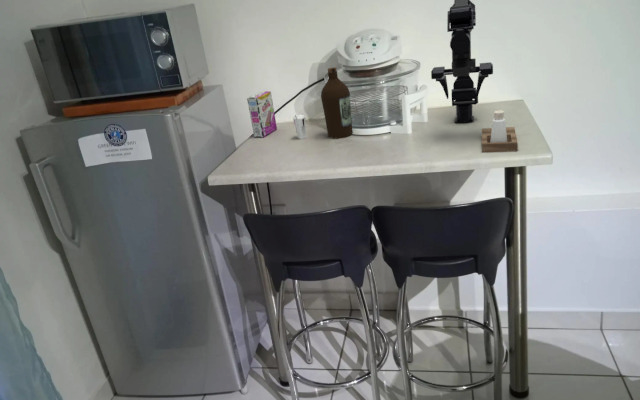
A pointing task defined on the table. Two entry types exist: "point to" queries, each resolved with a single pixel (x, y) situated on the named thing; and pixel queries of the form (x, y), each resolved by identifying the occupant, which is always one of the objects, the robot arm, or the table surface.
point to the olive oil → (336, 106)
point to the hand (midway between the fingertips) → (462, 97)
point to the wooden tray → (499, 146)
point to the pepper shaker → (498, 128)
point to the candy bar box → (262, 114)
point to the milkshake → (300, 126)
